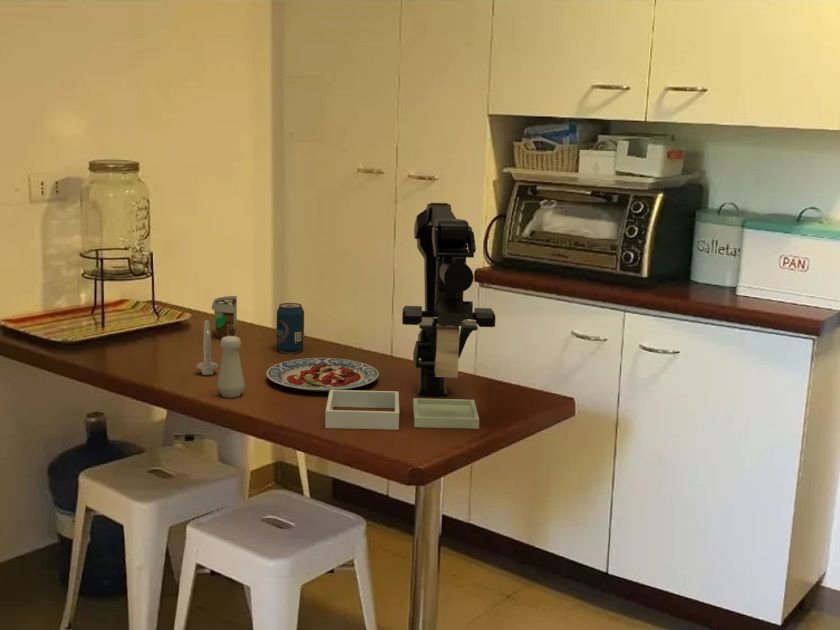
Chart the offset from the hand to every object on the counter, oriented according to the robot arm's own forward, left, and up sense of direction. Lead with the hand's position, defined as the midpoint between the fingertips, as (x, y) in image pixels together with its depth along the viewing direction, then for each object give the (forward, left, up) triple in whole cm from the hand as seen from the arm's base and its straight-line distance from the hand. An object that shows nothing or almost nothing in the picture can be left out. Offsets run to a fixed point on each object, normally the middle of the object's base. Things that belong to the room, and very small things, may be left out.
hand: (446, 357), depth 206 cm
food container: (-64, -56, -13) cm, 86 cm away
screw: (-28, -54, -13) cm, 62 cm away
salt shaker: (-12, -46, -13) cm, 49 cm away
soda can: (-51, -37, -13) cm, 64 cm away
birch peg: (0, 0, -4) cm, 4 cm away
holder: (+1, -17, -13) cm, 21 cm away
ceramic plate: (-25, -27, -14) cm, 39 cm away
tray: (0, 0, -13) cm, 13 cm away
